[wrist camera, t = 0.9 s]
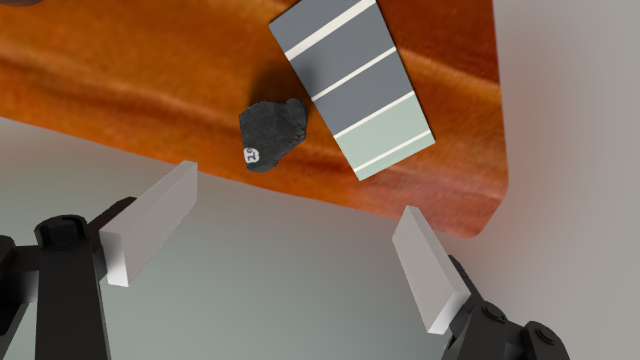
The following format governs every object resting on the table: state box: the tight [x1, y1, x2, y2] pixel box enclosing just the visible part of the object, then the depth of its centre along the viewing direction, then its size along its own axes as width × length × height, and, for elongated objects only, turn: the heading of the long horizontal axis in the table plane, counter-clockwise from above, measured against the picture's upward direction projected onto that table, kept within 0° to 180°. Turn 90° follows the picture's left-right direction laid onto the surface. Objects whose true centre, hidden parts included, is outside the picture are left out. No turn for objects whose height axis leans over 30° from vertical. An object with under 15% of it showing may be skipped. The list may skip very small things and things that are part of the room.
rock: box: [239, 98, 308, 173], centre depth 35 cm, size 10×9×6 cm
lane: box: [268, 0, 435, 181], centre depth 34 cm, size 24×12×1 cm, turn 31°
